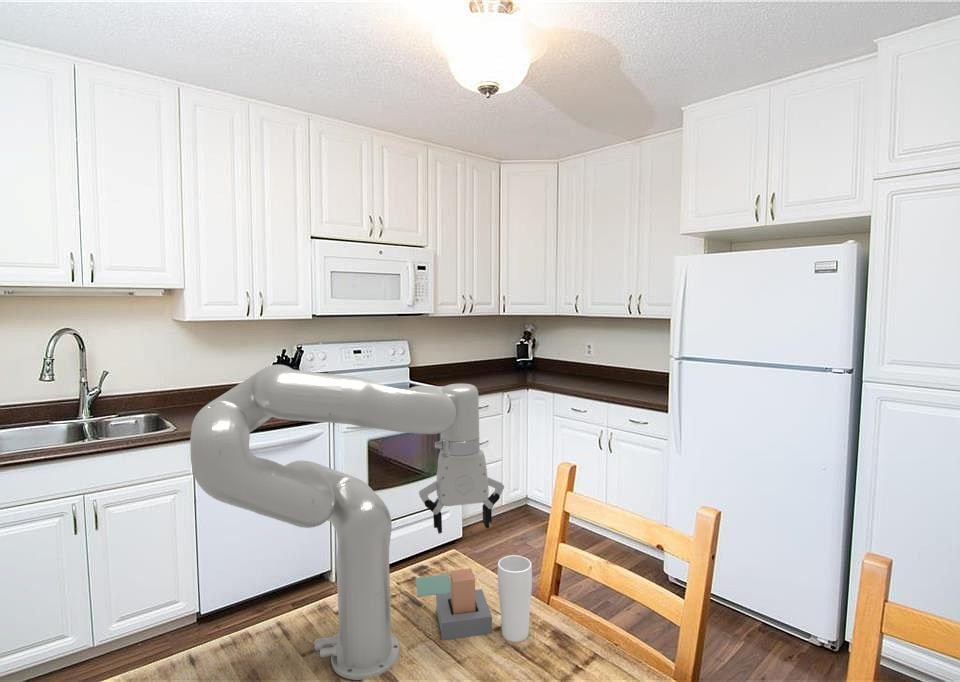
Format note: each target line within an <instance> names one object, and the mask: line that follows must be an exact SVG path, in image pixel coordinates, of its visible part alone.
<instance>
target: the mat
mask: <svg viewBox="0 0 960 682" xmlns="http://www.w3.org/2000/svg"><path fill="white" fill-rule="evenodd" d="M415 587H416V593H417V594H416V595H417V597H418V598H419V597H429V596H436V595H438V594H446V593H451V579H450V575H449V573H446V574H438V575H430V576H429V575H428V576H420V577H415Z"/></svg>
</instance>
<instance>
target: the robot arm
mask: <svg viewBox="0 0 960 682" xmlns="http://www.w3.org/2000/svg"><path fill="white" fill-rule="evenodd" d="M479 402H480V400H479V390H478V388H477V386H475V385H474V384H471V383H452V384H451V383H450V384H447V385H444V386H443V385H442V386H440V385H439V386H437V385H434V386H432V385H415V386H412V387H410V388H408V389H403V388H396V387H392V386H387V385H385V384H384V385H383V384H382V383H381V384H380V383H378V382H374V381H373V380H370V379H366V378H361V377H357V376H353V375H342V374H332V373H323V372H314V371H307V370H299V369H293V368H292V367H290V366H288V365H285V364H271V365H269V366H266V367H264V368H262V369H260V370H258V371H257V372H256V373H254V374H252V375H251V376H249V377H247V378H246V379H244V380H243V381H242V382H240V383H238V384H236V385H235V386H234V387H232V388H231V389H229V390H227V391H226V392H225V393H223V394H221V395H220V396H218V397H216V398H215V399H213V400H211V401H210V402H209V403H207V404H206V405H204V406H203V407H202V408H201V409H200V410H199V411H198V412H197V413H196V414H195V417H193V421H192V424H191V430H190V431H191V432H190V441H189V442H190V445H189V446H190V447H189V451H190V463H191V464H190V465H191V470H192V474H193V477H194V480H195V481H196V483H197V484H198V485H199V487H200V488H201V489H202V491H204V492H205V493H206V494H207V495H208V496H209V497H211V498H212V499H214V500H216V501H219V502H221V503H224V504H226V505H230V506H233V507H237V508H240V509H244V510H246V511H249V512H252V513H255V514H258V515H261V516H264V517H267V518H270V519H274V520H277V521H279V522H283V523H287V524H289V525H292V526H295V527H298V528H304V529H310V528H315V527H319V526H321V525H323V524H325V523H326V522H327V521H329V522H330V523H331V524H332V527H333V528H334V530H335V533H336V536H337V553H336V584H337V585H336V587H337V608H338V609H337V611H338V630H337V634H332V636H331V637H326V638H325V637H322V638H321V637H320V638H315V639H314V651H315V652H316V651H319V655H320V658H324V657H328V656H331V657H330V658H331V659H330V660H331V661H330V663H331V667H332V669H333V671H334V673H335V674H337V675H339V676H341V677H342V678H345V679H347V680H355V681H362V680H365V679H369V678H373V677H377V676H380V675H382V674H383V673H385V672H386V671H388V670H389V669H391V668H392V667H393V666H394V665H395V664H396V663H397V662H398V659H399V658H400V652H401V647H400V642H399V640H398V639H397V638H396V636H394V635H393V634H392V616H391V613H392V612H391V583H390V582H391V578H390V575H391V574H390V546H391V545H390V544H391V537H392V536H391V535H392V517H391V514H390V510H389V508H388V506H387V504H386V503H385V502H384V500H383V499H382V498H381V497H380V496H379V495H378V494H377V492H375V490H373V488H371V486H369V485H368V483H367V482H365V481H364V480H361V479H360V478H357V477H355V476H353V475H349V474H347V473H344V472H342V471H339V470H336V469H334V468H331V467H327V466H325V465H322V464H319V463H317V462H314V461H309V460H296V461H292V462H289V463H287V464H285V465H283V464H280V463H278V462H277V461H274V460H270V459H268V458H264V457H263V458H262V457H258V456H256V455H254V454H253V453H252V451H251V449H250V435H251V432H253V431H254V430H256V429H257V428H259V427H261V426H262V425H263V424H265V423H266V422H267V421H269V420H270V419H272V418H274V419H279V420H289V421H299V422H314V423H315V422H316V423H327V424H329V423H330V424H342V425H343V424H345V425H352V426H357V427H362V428H370V429H378V430H384V431H391V432H397V433H404V434H406V433H407V434H419V435H420V434H421V435H437V434H441V439H440V440H439V441H434V449H439V450H441V451H440V452H439V453H438V459H437V466H436V467H437V468H436V480H435V481H433V482H432V483H430V484H429V485H427V486H425V487H423V488H422V489H420V490H419V491H418V495H419V497H420V500H421V501H422V502H423V504H424V506H425V507H426V508H427V509H428V510H429V511H431V512H432V514H433V528H434V529H436V530H437V534H440V535H441V534H442V533H443V522H442V521H443V519H442V518H443V514H442V512H441V511H442V509H443V508H444V507H454V506H463V505H465V506H466V505H474V504H475V505H476V504H481V503H483V504H482V524H483V525H484V528H485V529H490V523H491V522H492V521H493V518H492V516H493V515H492V509H493V508H494V506H495V504H497V502H499V500H500V498H501V495H502V493H503V491H504V489H505V485H504V484H503V483H502V482H500V481H498V480H495V479H494V478H490V477H488V469H487V462H486V457H485V453H484V450H482V449H480V407H479V405H480V404H479ZM489 487H491V488H493V489H494V491H493V492H492V493H491V494H490V493H489ZM435 491H436V496H437V498H436V499H434V501H433V500H432V499H430V497H429V496H430V494H432V493H434V492H435ZM489 494H490V495H489Z"/></svg>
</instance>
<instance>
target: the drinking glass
mask: <svg viewBox="0 0 960 682" xmlns="http://www.w3.org/2000/svg"><path fill="white" fill-rule="evenodd" d="M532 565H533V564H532V562H531V561H530V559H529V558H527V557H524V556H523V555H522V556H521V555H517V554H516V555H515V554H514V555H506V556H503V557H502V558H500V559H499V560H498V563H497V589H498V590H497V591H498V599H499V610H500V622H501V634H502V638H503V639H505V640H506V641H508V642H511V643H512V642H513V643H520V642H523V641H525V640H527V638H528V637H529V634H530V629H529V628H530V627H529V625H530V613H531V612H530V610H531V600H532V588H533V567H532Z"/></svg>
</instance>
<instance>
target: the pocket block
mask: <svg viewBox="0 0 960 682" xmlns="http://www.w3.org/2000/svg"><path fill="white" fill-rule="evenodd" d="M435 602H436V603H435V607H436V617H437V621H438V625H439V631H440V637H441V641H447V640H454V639H463V638H470V637H477V636H482V635H483V636H484V635H491V634H493V615H492V613H491V610H490V608H489V605H488V602H487V599H486V596H485V594H484V591H483V589H482V588H481V589H479V588H478V589H475V612H471V613H463V614H456V615H451V593H445V594H437V595H435Z"/></svg>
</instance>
